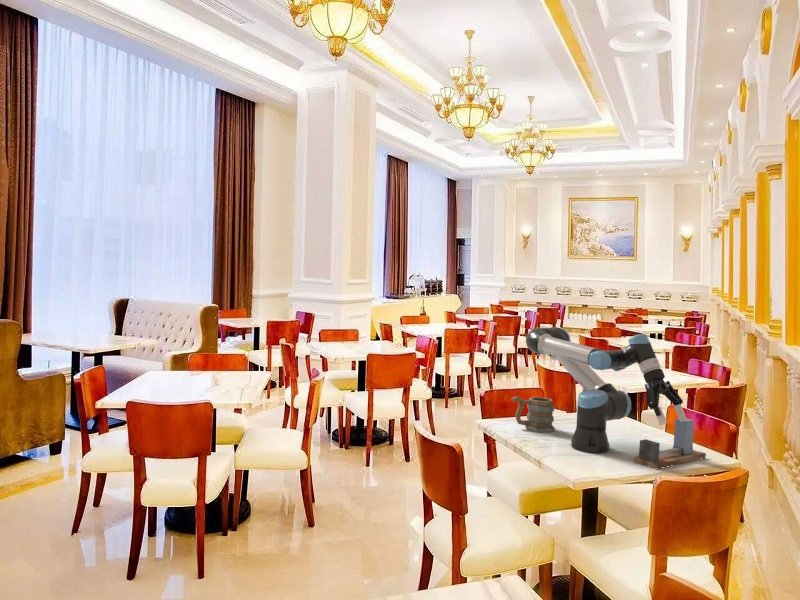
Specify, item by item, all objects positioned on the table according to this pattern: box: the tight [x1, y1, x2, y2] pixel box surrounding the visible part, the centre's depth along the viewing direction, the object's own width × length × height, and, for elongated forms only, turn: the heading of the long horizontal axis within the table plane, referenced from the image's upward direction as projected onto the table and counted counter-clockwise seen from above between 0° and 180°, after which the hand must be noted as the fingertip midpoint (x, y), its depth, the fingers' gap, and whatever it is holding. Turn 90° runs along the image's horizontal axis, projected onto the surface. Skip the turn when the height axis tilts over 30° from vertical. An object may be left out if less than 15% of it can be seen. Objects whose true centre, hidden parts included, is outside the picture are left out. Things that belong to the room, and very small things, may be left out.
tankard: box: [510, 395, 556, 434], centre depth 282 cm, size 20×13×15 cm, turn 89°
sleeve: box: [672, 417, 695, 454], centre depth 245 cm, size 5×5×13 cm
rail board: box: [633, 439, 707, 470], centre depth 241 cm, size 10×32×9 cm, turn 123°
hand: (674, 422), depth 237 cm, fingers open, 13 cm apart
